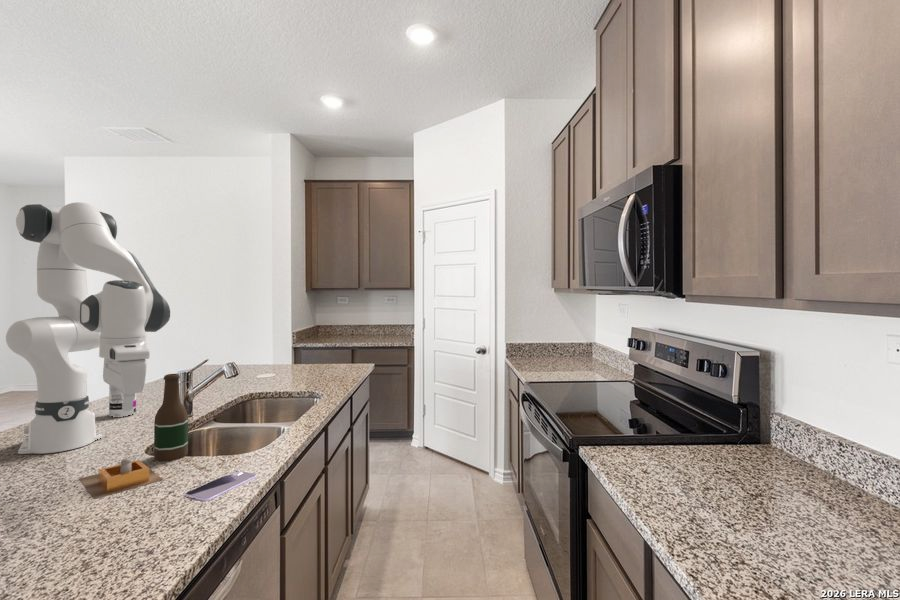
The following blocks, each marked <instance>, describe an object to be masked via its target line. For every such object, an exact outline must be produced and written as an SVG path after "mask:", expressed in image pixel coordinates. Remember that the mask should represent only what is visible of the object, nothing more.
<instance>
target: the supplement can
mask: <svg viewBox="0 0 900 600" xmlns="http://www.w3.org/2000/svg"><path fill="white" fill-rule="evenodd" d="M108 386H109V387H108V389H109V391H108V392H109V394H108V395H109V397H108V398H109V399H108V400H109V401H108V405H109V406H108V409H109V410H108V416H109V417H111V416H114V417H121V416H128V415H131V416H133V415H132V414H134V415H135V414H136V413H137V393H135V399H134V402H133V409H132V410H130V411H124V410H122V403H123V393H122V392H121V395H122V401H121V402H120V403H113V402H111V392H110V385H109V384H108ZM128 417H129V416H128ZM121 418H122V417H121Z"/></svg>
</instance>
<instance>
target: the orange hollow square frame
mask: <svg viewBox="0 0 900 600" xmlns="http://www.w3.org/2000/svg"><path fill="white" fill-rule="evenodd" d="M143 463H144V462H143V461H141V460H140V459H136V460H133V461H132V460H131V472H127V473H123V474H121V463H120V464H115V465H112V466H107V467H103V468H99V469H97V474H98V483H99V484H100V485H101V486H102V487H103V488H104V490H105V491H106V492H110V491H114V490H118V489H121V488H125V487H129V486H132V485H136V484H140V483H143V482H147V481H149V468H150V467H149V466H148V465H146V464H145V463H144V464H143ZM147 466H148V467H149V468H148V467H147Z"/></svg>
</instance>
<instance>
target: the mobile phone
mask: <svg viewBox="0 0 900 600" xmlns="http://www.w3.org/2000/svg"><path fill="white" fill-rule="evenodd" d="M256 478H258V475H257V474H256V473H252V472H248V471H243V470H235V473H230V474H227V475H224V476H221V477H219V478H216V479H215V480H211V481H210V482H207V483H205V484H202V485H201V486H199V487H196V488H194V489H191V490H189V491H187V492H185V494H184V497H186V498H189V499H193V500H197V501H201V502H208V501H212V500H213V499H216V498H217V497H220V496H222V495H224V494H226V493H228V492H229V491H232V490H234V489H236V488H238V487H240V486H242V485H244V484H246V483H248V482H251V481H252V480H255V479H256Z"/></svg>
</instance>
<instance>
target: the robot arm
mask: <svg viewBox="0 0 900 600" xmlns="http://www.w3.org/2000/svg"><path fill="white" fill-rule="evenodd" d="M117 225H118V224H117V221H116V220H115V218H114V217H113V215H111V214H109V213H106V212H104V211H99V209H97V207H95V206H94V205H91V204H89V203H86V202H70V203H68V204H65V205H64V206H58V205H42V204H37V203H36V204H26V205H24V206H22V207H21V208H20V209H19V211H18V213H17V215H16V217H15V226H16V228H17V230H18V233H19V235H20V236H21V237H22V238H23V240H24V239H25V240H27V241H28V242H34V243H39V246H38V251H37V257H36V258H37V259H36V290H37V291H36V292H37V293H36V294H37V295H38V297H39V298H40V299H41V300H42V301H44V302H46V303H48V304H50V305H52V306H53V307H54V309H55V310H56V311H57V315H58V316H37V317H32V318H26V319H21V320H18V321H15V322H13V323H12V324H11V325H10V326H9V328H8V329H7V331H6V334H5V342H6V344H7V347H8V348H9V350H10V351H12V352H13V353H15V354H16V355H17V356H18V355H19V356H20V357H22V358H23V359H25V360H26V361H27V362H28V364H30V366H31V368H32V370H33V371H34V374H35V377H36V385H37V386H36V390H37V393H36V395H37V401H35V404H34V414H35V416H34V418H33V419H31V421H30V422H28V425H26V426H24V427H23V434H24V435H26V436H25V438H24V440H23V441H22V443H21V445H20V447H19V448H18V451H17V454H18V455H26V454H54V453H59V452H60V453H61V452H65V451H70V450H75V449H78V448H82V447H85V446H88V445H90V444H91V443H93V442H96V441H98V440H101V439H103V434H101V433H98V432H96V415H95V413H94V412H93V411H90V409H89V408H90V407H89V405H90V404H89V403H90V399H89V395H88V389H87V388H88V373H87V371H86V370H85V369H84V368H83V367H81V366H79V365H77V364H73V363H72V362H71V360H70V358H69V353H73V352H75V353H76V352H82V351H83V352H84V351H90V350H93V349H97V348H99V350H98V351H99V352H98V354H99V355H98V357H99V358H102V359H103V366H102V367H103V368H102V379H103V382H104V383H106V384H108V386H109V385H110V392H111V402H113V403H120V402H121V401H122V395H121V392H122V393H123V403H122V410H124V411H130V410H132V409H133V402H134V399H135V393H136V394H139V393H142V392H143V391H144V389H145V386H146V385H145V384H146V377H147V360H149V359H150V354H151V353H150V349H149V348H148V346H147V333H156V332H158V331H160V329H162V328H163V327H165V325H167V323H168V322H169V321H170V318H171V308H170V304H169V303H168V301H167V300H166V299H165V298H164V297H163V296H162V295H161V293H160V292H159V291H158V290H157V288H156V286H155V285H154V283H153V282H152V280H151V278H150V277H149V274H147V272H146V270H145V269H144V267H143V265H142V264H141V262H140V261H139V260H138V259H137V257H136V256H135V254H134V253H131V252H130V251H129V250H127V249H125V248H124V247H123V246H122V245H120V244H119V242H117V241H116V238H117V235H118V226H117ZM88 269H89V270H92V271H96V272H101V273H105V274H108V275H111V276H114V277H116V278H119V279H120V280H117V279H116V280H114V279H113V280H109V281H105V282H104V284H103V288H102V290H101V291H100V292H97V293H95V294H90V295H89V294H88V283H87V282H88V281H87V270H88ZM100 438H101V439H100ZM97 439H98V440H97ZM95 440H96V441H95Z"/></svg>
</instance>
